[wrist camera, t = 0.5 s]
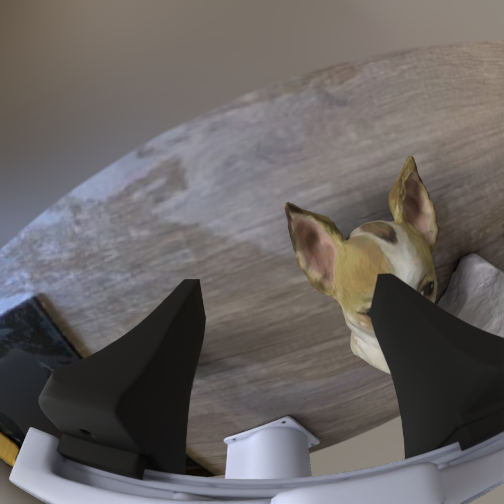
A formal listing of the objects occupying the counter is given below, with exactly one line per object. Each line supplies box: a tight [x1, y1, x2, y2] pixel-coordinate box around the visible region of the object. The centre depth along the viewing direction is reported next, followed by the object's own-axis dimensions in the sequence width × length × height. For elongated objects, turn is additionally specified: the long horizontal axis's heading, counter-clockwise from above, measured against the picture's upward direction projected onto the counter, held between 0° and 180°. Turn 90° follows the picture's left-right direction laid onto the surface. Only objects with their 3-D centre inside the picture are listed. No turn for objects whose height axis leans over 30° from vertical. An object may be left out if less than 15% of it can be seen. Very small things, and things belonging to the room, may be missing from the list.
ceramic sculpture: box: [284, 156, 439, 374], centre depth 18 cm, size 11×9×15 cm
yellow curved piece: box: [0, 432, 19, 467], centre depth 44 cm, size 10×10×9 cm
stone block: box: [437, 253, 504, 338], centre depth 22 cm, size 12×5×10 cm
